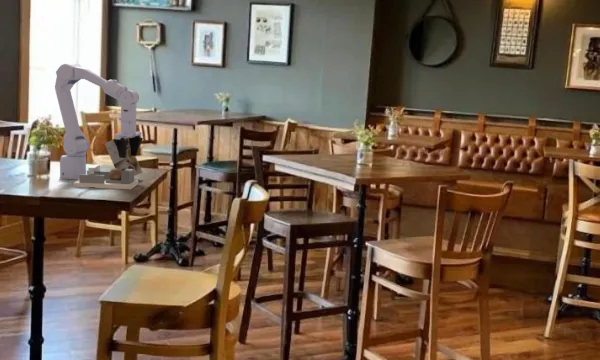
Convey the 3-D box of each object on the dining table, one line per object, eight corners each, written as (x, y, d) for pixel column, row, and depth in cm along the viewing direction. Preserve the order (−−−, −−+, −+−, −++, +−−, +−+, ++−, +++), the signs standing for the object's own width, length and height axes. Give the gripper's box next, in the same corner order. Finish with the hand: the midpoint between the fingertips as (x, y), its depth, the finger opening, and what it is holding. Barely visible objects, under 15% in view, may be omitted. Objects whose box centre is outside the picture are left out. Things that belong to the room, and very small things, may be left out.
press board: (73, 186, 277) (73, 170, 276) (83, 181, 289) (83, 166, 288) (130, 189, 277) (130, 173, 276) (138, 184, 289) (138, 168, 288)
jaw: (88, 178, 279) (88, 167, 278) (94, 175, 286) (94, 164, 286) (93, 178, 278) (93, 167, 278) (99, 175, 286) (99, 165, 286)
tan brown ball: (107, 182, 280) (107, 168, 279) (110, 180, 285) (110, 167, 284) (120, 182, 280) (120, 169, 279) (124, 180, 285) (124, 167, 284)
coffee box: (134, 176, 291) (117, 137, 290) (120, 181, 293) (103, 143, 291) (143, 172, 300) (126, 134, 299) (129, 177, 301) (112, 140, 300)
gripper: (125, 123, 281) (125, 159, 283) (148, 121, 294) (147, 155, 296) (110, 121, 284) (109, 157, 286) (133, 119, 297) (132, 154, 299)
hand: (128, 156), depth 291 cm, fingers open, 7 cm apart
